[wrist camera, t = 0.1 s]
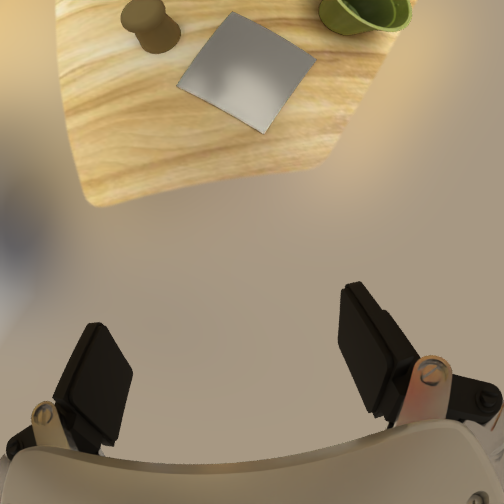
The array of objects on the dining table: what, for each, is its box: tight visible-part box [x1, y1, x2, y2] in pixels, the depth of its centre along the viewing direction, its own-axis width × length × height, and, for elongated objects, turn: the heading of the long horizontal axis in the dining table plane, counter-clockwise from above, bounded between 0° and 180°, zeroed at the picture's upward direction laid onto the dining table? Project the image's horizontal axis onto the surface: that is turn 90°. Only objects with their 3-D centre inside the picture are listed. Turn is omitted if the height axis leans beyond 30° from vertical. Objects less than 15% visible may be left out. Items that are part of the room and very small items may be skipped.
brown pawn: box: [121, 0, 181, 54], centre depth 22 cm, size 6×6×11 cm
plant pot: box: [319, 0, 412, 35], centre depth 22 cm, size 12×12×11 cm
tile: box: [176, 12, 317, 134], centre depth 30 cm, size 14×14×1 cm
